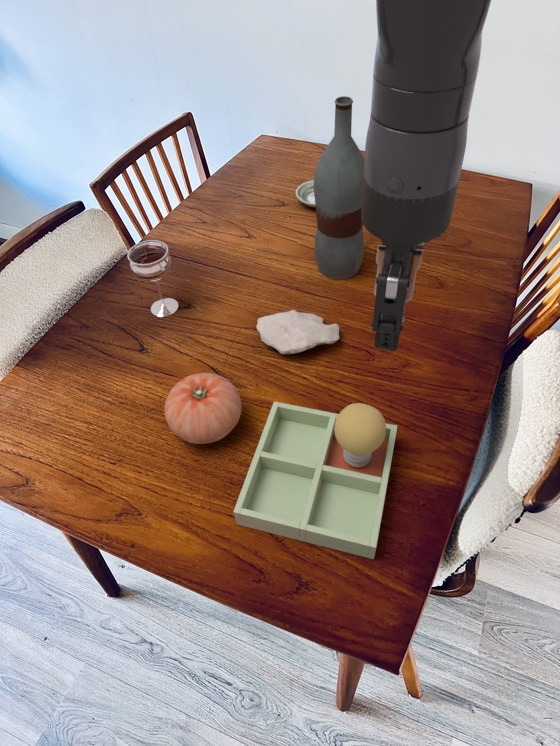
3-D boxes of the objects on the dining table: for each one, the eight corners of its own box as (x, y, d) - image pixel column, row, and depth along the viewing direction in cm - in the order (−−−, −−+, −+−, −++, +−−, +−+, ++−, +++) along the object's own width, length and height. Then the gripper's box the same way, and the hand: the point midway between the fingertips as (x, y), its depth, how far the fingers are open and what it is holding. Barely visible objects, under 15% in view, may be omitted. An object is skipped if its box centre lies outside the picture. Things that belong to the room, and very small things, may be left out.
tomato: (203, 384, 81) (194, 349, 75) (259, 414, 77) (254, 380, 71) (155, 432, 76) (141, 399, 70) (212, 468, 71) (202, 436, 65)
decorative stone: (349, 328, 88) (269, 314, 93) (349, 309, 85) (267, 296, 91) (327, 367, 80) (241, 349, 86) (326, 347, 78) (238, 330, 83)
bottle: (307, 257, 100) (303, 93, 78) (351, 246, 102) (359, 82, 79) (324, 286, 95) (326, 118, 72) (371, 274, 96) (386, 106, 73)
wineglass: (189, 310, 93) (175, 255, 83) (154, 325, 90) (135, 270, 81) (174, 289, 96) (158, 234, 87) (140, 304, 94) (120, 249, 85)
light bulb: (343, 431, 73) (346, 387, 65) (387, 447, 71) (395, 403, 63) (325, 468, 69) (326, 425, 62) (371, 486, 67) (378, 444, 60)
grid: (394, 440, 73) (397, 425, 70) (373, 559, 62) (376, 547, 59) (275, 415, 76) (273, 401, 74) (236, 524, 66) (233, 511, 63)
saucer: (290, 211, 111) (290, 200, 109) (302, 187, 117) (302, 177, 115) (334, 216, 109) (334, 205, 107) (344, 191, 115) (344, 181, 113)
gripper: (454, 225, 36) (421, 375, 48) (465, 131, 45) (435, 279, 57) (347, 215, 38) (342, 362, 50) (378, 126, 46) (367, 270, 59)
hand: (391, 318), depth 54 cm, fingers open, 8 cm apart
